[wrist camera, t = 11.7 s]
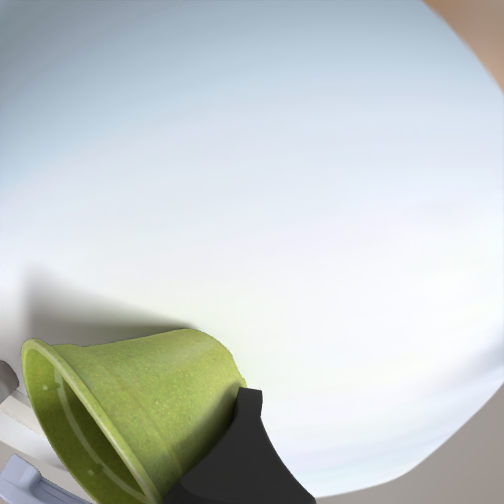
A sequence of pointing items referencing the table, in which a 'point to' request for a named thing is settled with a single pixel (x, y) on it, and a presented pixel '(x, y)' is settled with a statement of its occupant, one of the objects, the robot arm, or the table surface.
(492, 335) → the table surface
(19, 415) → the mounting plate
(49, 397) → the plant pot
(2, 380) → the oak arm
